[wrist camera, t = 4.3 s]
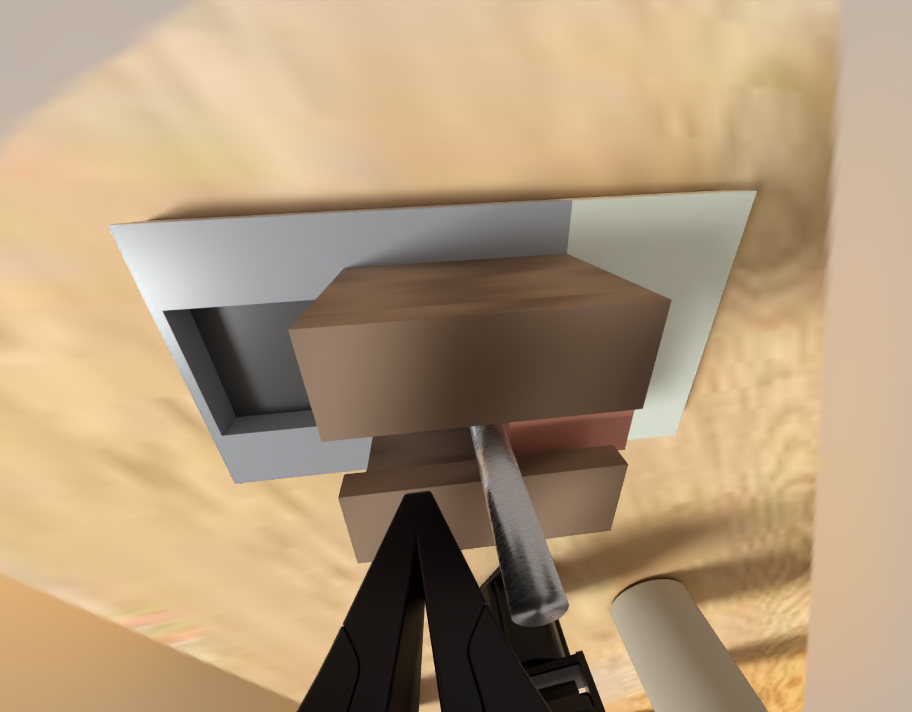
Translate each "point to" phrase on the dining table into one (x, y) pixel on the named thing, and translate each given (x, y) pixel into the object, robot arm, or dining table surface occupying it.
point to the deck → (394, 243)
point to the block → (570, 432)
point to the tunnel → (475, 382)
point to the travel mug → (679, 652)
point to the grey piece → (517, 533)
